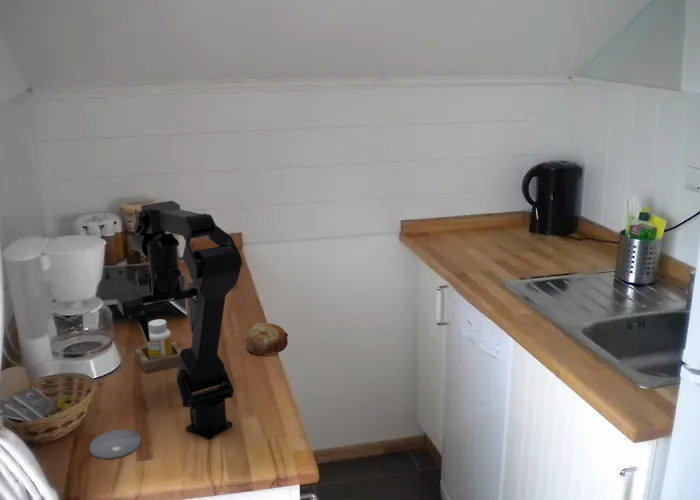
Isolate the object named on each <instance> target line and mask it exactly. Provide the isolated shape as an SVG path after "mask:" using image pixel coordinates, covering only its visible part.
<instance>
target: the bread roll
mask: <svg viewBox="0 0 700 500" xmlns="http://www.w3.org/2000/svg"><path fill="white" fill-rule="evenodd" d="M288 337H289V334H288V333H287V332H286V331H285V330H284V328H282V327H281V326H280V325H278V324H275V323H270V322H268V323H267V322H259V323H256V324H254V325H253V326H252V327H251V328H250V329H249V331H248V333H247V334H246V339H245V340H246V345H245V350H247V351H248V352H249V353H251V352H252V354H253V355H255V354H256V355H255V356H265V355H264V354H272V353H274V352H276V353H275V354H279V353H281V352H283V351H284V350H285V349H286V348H287V347H288V344H289V339H288ZM272 355H273V354H272Z"/></svg>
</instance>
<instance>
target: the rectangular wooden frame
mask: <svg viewBox="0 0 700 500" xmlns="http://www.w3.org/2000/svg"><path fill="white" fill-rule="evenodd" d="M171 344H172V355H170V356H165V357H161V358H156V359H152V360H149V356H148V347H147V345H144V346H143V345H142V346H139V347H134V349H133V351H134V358H135V360H136V362H137V363H138V365H139V366H140V367H141V369H142V371H143V372H144V374H150V373H154V372H155V373H156V372H159V371H164V370H168V369H171V368H172V369H173V368H176V367H179V365H178V364H179V362H180V352H181V351H182V350H183V349H182V348H181V347H180V345H179V344H178V343H177V342H176V341H175V339H171Z"/></svg>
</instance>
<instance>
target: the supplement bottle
mask: <svg viewBox="0 0 700 500" xmlns="http://www.w3.org/2000/svg"><path fill="white" fill-rule="evenodd" d="M147 324H148V329H149V335H150V342H147V341H146V346H147V347H148V356H149V357H148V360H152V359H156V358H161V357H165V356H170V355H173V354H172V344H171V340H172V334H171V330H170V329H168V328H167V327H168V325H167V320H165V319H153V320H150V321H148V322H147Z"/></svg>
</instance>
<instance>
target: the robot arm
mask: <svg viewBox="0 0 700 500" xmlns="http://www.w3.org/2000/svg"><path fill="white" fill-rule="evenodd" d="M140 209H141V210H139V211H138V213H137V218H136V220H135V223H134V226H133V231H134V232H133V234H132V237H131V243H132V247H133V248H134V250H136V251H137V252H139V253H140V254H142V255H143V256H145V257H147V258H148V264H149V265H148V273H147V271H146V270H145V269H144V270H138V271H135V272H134V273H135V274H134V275H135V283H136V286H137V288H139V287H145V286H146V287H145V288H146V291H148V293H151V294H150V295H145V296H141V295H140V294H139V293H138V292H137V291H135V292H130V293H129V292H128V293H122V294H119V295H118V296H117V298H116V306H117V309H118V310H119V312H120V313H121V314H122V316H123V317H129V319H131V320H136V322H137V324H138V325H139V328H140V330H141V332H142V334H143V336H144V338H145V341H146V343H147V342H150V335H149V331H150V330H149V326H148V318H147V314H146V312H145V311H144V310H145V307H147V306H152V305H157V304H163V303H168V302H174V301H178V300H179V301H180V300H185V299H188V304H189V330H190V332H191V333H192V336H191V337H192V339H191V346H190V347H187V348H183V349H182V351H181V352H180V362H179V364H178V365H179V366H178V371H177V372H176V373H177V374H176V384H177V386H178V390H179V396H180V399H181V403H182V407H183V408H189V415H190V423H191V424H189V425H187V426H186V427H185V430H186V431H187V432H189V433H192V434H194V435H196V436H199V437H202V438H204V439H206V440H212V439H213V438H214V437H216V436H218V435H219V434H221V433H223V432H224V431H226V430H227V429H229V428H231V427H232V426H233V422H232V421H229V420H227V414H226V413H227V412H226V411H227V410H226V400H227V399H231V398H233V396H234V387H233V384H232V382H231V380H230V377H229V375H228V372H227V369H226V367H225V363H224V362H223V360H222V358H221V357H220V355H219V354H218V353H219V347H220V339H221V331H222V324H223V318H224V317H223V316H224V311H225V304H226V297H227V295H228V294H229V292H231V290H233V288H234V287H235V286H236V285H237V284H238V280H239V277H240V274H241V269H242V267H243V260H242V255H241V253H240V251H239V249H238V247H237V246H236V245H237V244H236V243H235V240H234V239H233V237H232V236H231V235H230V234H228V233H227V232H226V231H225V230H223V229H222V228H221V227H219V226H218V225H217V224H216V222H215V220H214V218H213V217H212V215H211V214H209V213H208V214H207V213H205V212H204V213H198V212H193V211H189V210H183V209H181V205H180V204H179V203H178V202H176V201H173V200H168V201H162V202H161V201H160V202H153V203H147V204H146V203H145V204H142V205H141V206H140ZM166 232H167V233H166ZM174 234H176V235H178V236H182V237H183V239H184V241H185V244H184V249H183V254H182V260H183V261H184V263H185V266H186V269H187V270H188V273H189V277H190V279H191V280H192V281H193V282H189V283H188V287H187V288H183V289H182V286H181V276H182V272H181V270H180V264H179V263H180V262H179V249H178V246H179V245H180V242H179V239H178V238H176V237H175V236H174ZM203 237H208V239H209V240H211V242H213V243H214V244H215V245H217V246H214V247H209V248H205V249H204V248H203V249H198V250H195V251H193V250H192V247H191V245H190V244H191V240H192V239H197V238H203Z"/></svg>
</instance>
